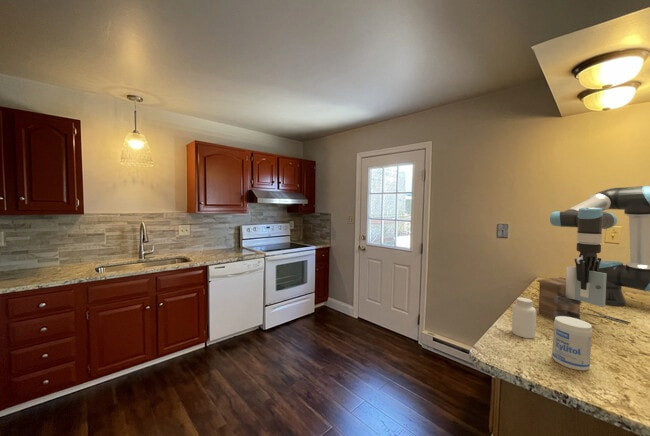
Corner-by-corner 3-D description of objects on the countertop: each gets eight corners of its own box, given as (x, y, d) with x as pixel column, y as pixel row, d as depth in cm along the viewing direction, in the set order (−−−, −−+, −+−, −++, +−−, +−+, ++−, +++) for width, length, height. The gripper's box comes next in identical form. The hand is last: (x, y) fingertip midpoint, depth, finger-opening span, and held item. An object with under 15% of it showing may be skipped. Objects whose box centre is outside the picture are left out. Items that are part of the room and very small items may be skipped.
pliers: (576, 306, 142) (633, 319, 125) (576, 307, 142) (633, 320, 125) (571, 309, 136) (629, 324, 120) (571, 311, 136) (629, 325, 120)
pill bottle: (529, 340, 106) (530, 304, 105) (507, 332, 113) (508, 297, 112) (539, 336, 109) (540, 300, 109) (517, 328, 116) (518, 295, 116)
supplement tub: (552, 364, 90) (553, 321, 89) (551, 352, 97) (553, 313, 97) (592, 375, 84) (594, 330, 83) (588, 362, 91) (590, 320, 90)
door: (569, 296, 123) (570, 266, 122) (607, 306, 110) (608, 273, 110) (563, 296, 122) (564, 266, 121) (600, 307, 109) (602, 274, 108)
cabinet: (560, 309, 138) (561, 277, 137) (595, 321, 124) (597, 285, 123) (534, 313, 133) (535, 279, 132) (568, 326, 119) (569, 288, 118)
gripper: (589, 241, 120) (587, 292, 121) (566, 242, 116) (564, 295, 117) (611, 243, 113) (608, 297, 114) (587, 244, 109) (585, 301, 110)
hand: (586, 296), depth 115 cm, fingers closed on door, 2 cm apart
